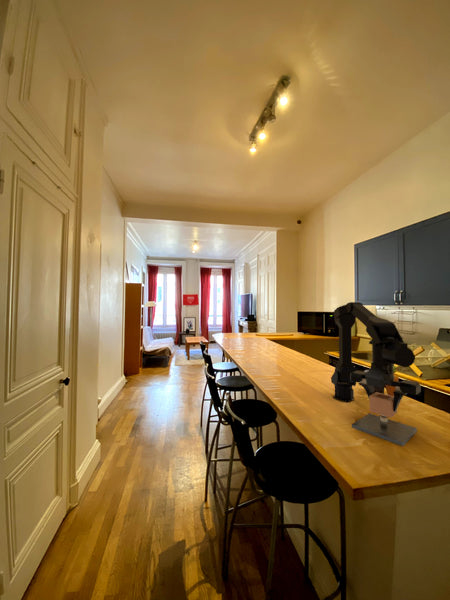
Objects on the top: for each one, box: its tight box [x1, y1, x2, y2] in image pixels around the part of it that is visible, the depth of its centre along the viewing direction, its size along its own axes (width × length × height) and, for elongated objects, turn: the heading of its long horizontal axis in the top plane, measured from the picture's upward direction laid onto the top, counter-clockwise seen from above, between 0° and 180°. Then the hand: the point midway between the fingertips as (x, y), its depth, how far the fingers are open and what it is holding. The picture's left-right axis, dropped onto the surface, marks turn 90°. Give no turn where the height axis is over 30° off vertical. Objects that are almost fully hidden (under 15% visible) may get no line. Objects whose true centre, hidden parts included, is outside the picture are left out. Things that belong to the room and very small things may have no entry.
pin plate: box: [351, 413, 418, 447], centre depth 79 cm, size 14×14×6 cm
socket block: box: [368, 392, 398, 419], centre depth 79 cm, size 6×6×5 cm
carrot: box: [385, 365, 400, 396], centre depth 104 cm, size 5×5×15 cm
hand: (383, 408), depth 79 cm, fingers closed on socket block, 6 cm apart
